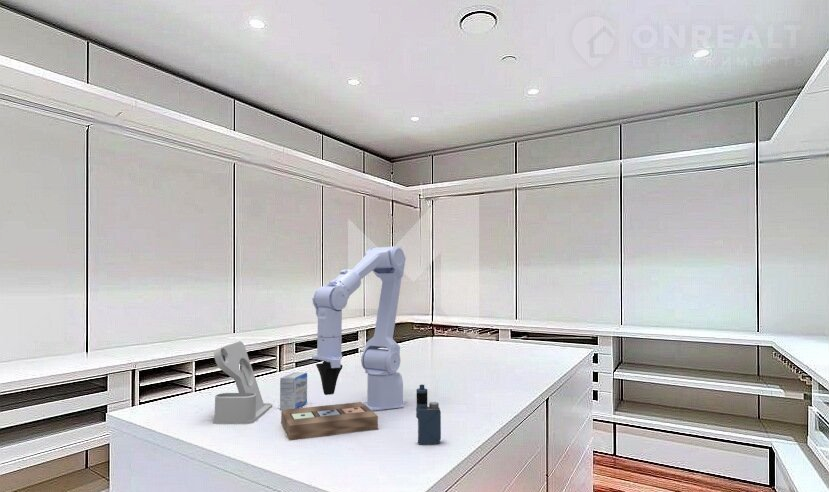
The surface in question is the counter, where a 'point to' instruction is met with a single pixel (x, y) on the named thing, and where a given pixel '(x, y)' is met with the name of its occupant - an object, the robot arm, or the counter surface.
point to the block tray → (328, 421)
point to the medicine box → (293, 390)
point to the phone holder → (248, 400)
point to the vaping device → (427, 419)
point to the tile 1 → (302, 415)
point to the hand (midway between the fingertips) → (328, 394)
